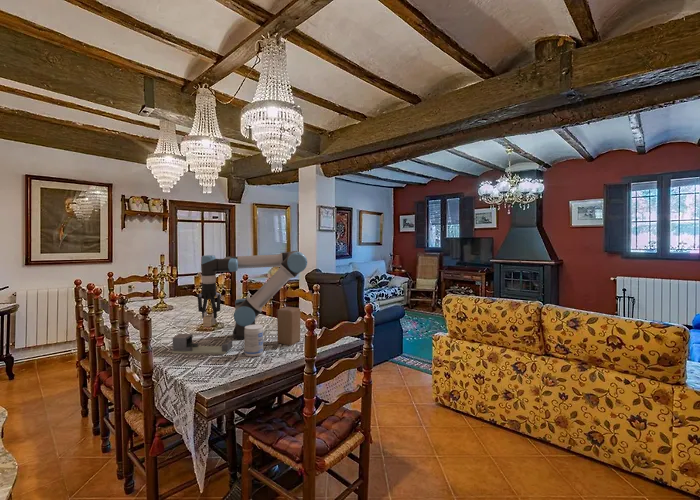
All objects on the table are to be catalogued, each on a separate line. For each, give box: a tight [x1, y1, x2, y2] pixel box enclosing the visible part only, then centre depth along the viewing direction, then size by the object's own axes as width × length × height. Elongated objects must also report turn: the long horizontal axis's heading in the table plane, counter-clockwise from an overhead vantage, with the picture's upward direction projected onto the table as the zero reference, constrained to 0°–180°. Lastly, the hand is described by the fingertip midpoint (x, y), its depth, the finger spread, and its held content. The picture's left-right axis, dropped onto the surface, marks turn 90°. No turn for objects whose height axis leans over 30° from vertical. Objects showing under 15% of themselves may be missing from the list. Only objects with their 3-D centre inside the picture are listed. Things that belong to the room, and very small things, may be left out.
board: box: [171, 345, 228, 355], centre depth 194 cm, size 28×9×1 cm, turn 90°
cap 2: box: [221, 339, 233, 353], centre depth 193 cm, size 3×8×4 cm, turn 0°
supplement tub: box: [243, 324, 264, 358], centre depth 189 cm, size 10×10×15 cm
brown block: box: [202, 313, 217, 328], centre depth 203 cm, size 8×4×5 cm, turn 0°
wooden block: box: [276, 306, 301, 346], centre depth 209 cm, size 10×10×20 cm
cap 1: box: [172, 333, 199, 351], centre depth 193 cm, size 10×8×7 cm
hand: (209, 323), depth 203 cm, fingers closed on brown block, 4 cm apart
